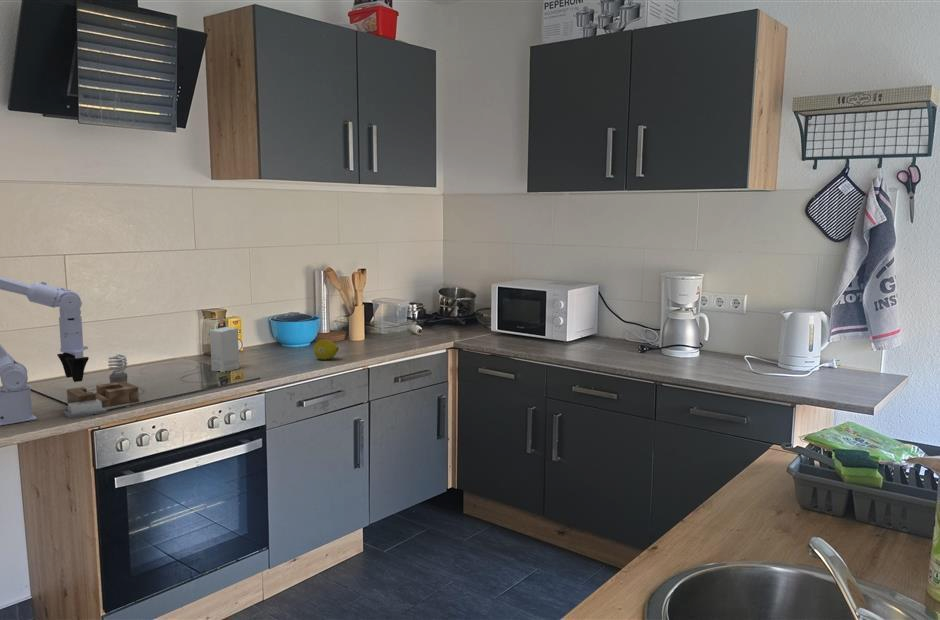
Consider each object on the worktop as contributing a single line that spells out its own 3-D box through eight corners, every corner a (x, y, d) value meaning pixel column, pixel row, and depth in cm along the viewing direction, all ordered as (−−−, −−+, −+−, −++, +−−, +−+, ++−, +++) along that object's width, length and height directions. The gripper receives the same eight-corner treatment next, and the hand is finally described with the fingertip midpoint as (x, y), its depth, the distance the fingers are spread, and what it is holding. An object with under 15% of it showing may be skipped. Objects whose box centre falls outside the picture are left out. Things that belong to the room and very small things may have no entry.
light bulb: (118, 392, 242) (116, 356, 240) (105, 391, 244) (103, 355, 242) (132, 389, 247) (130, 353, 245) (119, 387, 249) (117, 352, 247)
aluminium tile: (71, 414, 212) (71, 406, 212) (68, 411, 215) (67, 403, 215) (102, 409, 218) (101, 401, 217) (98, 407, 221) (97, 399, 220)
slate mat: (69, 418, 211) (69, 415, 211) (63, 414, 215) (63, 411, 215) (106, 412, 218) (106, 409, 218) (100, 408, 222) (100, 405, 222)
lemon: (308, 359, 297) (308, 340, 296) (322, 356, 303) (322, 337, 302) (328, 362, 291) (328, 342, 290) (342, 359, 297) (342, 339, 296)
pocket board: (79, 411, 219) (78, 396, 219) (67, 403, 228) (66, 389, 227) (138, 401, 231) (138, 387, 230) (125, 394, 239) (124, 381, 239)
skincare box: (228, 367, 282) (226, 326, 281) (240, 369, 279) (239, 327, 277) (210, 371, 275) (208, 329, 273) (222, 373, 272) (221, 330, 270)
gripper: (93, 334, 212) (96, 381, 213) (79, 328, 222) (82, 373, 224) (66, 337, 207) (69, 385, 209) (52, 330, 218) (56, 376, 219)
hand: (74, 379), depth 216 cm, fingers open, 7 cm apart
